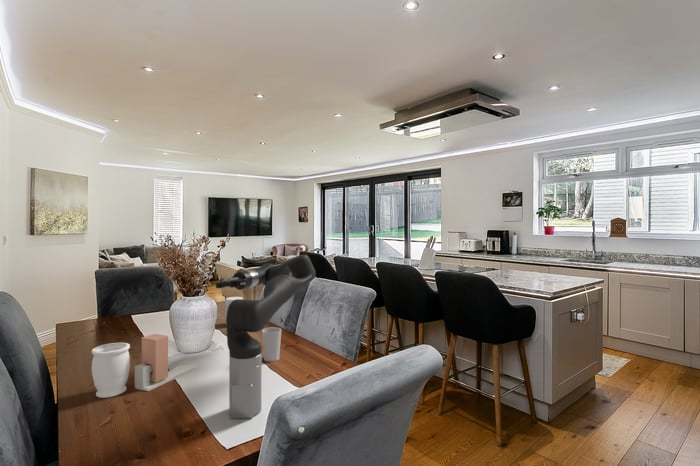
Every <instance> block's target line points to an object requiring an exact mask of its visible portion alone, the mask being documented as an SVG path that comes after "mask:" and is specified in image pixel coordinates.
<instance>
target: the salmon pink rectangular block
mask: <svg viewBox="0 0 700 466" xmlns="http://www.w3.org/2000/svg"><path fill="white" fill-rule="evenodd" d="M168 358H169V336H168V335H162V334H157V333H153V334H149V335H146V336H145V335H144V336H142V337H141V364H144V365H153V371H152V372H150V381H152V382H158V381H160V380H162V379H164V378H167V377H168V371H169V365H168Z"/></svg>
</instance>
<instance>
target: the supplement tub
mask: <svg viewBox="0 0 700 466" xmlns="http://www.w3.org/2000/svg"><path fill="white" fill-rule="evenodd" d="M236 299H243V300H244V297H242V296H230V297H226V298H225V300H224V307H225V309H224V311H225V312H224V314H225V315H224V316H225V318H224V320H225V321H224V323H225V325H226V315H227V310H228V307H229V305H230V303H231V302H232V301H234V300H236Z"/></svg>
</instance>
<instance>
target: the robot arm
mask: <svg viewBox="0 0 700 466" xmlns="http://www.w3.org/2000/svg"><path fill="white" fill-rule="evenodd" d="M316 274H317V273H316V269H315V267H314V265H313V262H312V260H311V259H310V257H309V255H308V254H305V253H304V254H299V255H297V256H295V257H293V258H290V259H288V260H285V261H284V262H282V263H280V264H276V265H274V264H273V263H264V264H262V265H261V266H259V267H258V268H256V269H250V270H249V269H247V270H242V271H237V272H235V273H234V274H233V275H232V276H229V277H227V278H223V277H221V278H219V281H218V282H217V281H216V282H215V289H223V288H226V289H227V288H235V289H236V290H239V291H241V290H246V289H249V288H250V289H251V288H253V287H256V286H260V285H263V286H264V289H263V298H262V299H258V300H257V299H256V300H255V299H254V300H253V299H244V298H243V299H236V300H234V301H232V302H231V303H230V305H229V307H228V310H227V315H226V324H225V325H226V340H227V341H226V343H227V348H228V351H229V353H228V354H229V355H228V356H229V358H228V359H229V365H228V366H229V368H228V369H229V370H228V371H229V379H228V380H229V384H228V385H229V386H228V389H229V393H228V395H229V396H228V399H229V400H228V403H229V405H228V406H229V407H228V408H229V411H228V413H229V415H230V419H253V418H254V417H255V416H257V415H258V414H260V413H261V411H262V362H263V361H262V358H263V357H262V354H263V353H262V349H263V348H262V346H263V345H262V343H261V342H260V341H259V340H257V339H255V338H254V337H253V336H251V334H249V333H257V332H260V331H262V330H263V329H265V327H266V326H267V324H268V323H269V322H270V320H271V319H272V318H273V317H274V316H275V314H276V313H277V312H278V311H279V310H280V308H281V307H283V306H284V304H286V303H287V302H288V301H289V300H290V299H292V298H293V296H294V295H295V294H296V293H297V292H298V291H299V290H300V289H302V288H303V286H305V285H307V284H309V282H311V281H312V280H313V279H314V278H315V277H316Z"/></svg>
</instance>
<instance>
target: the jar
mask: <svg viewBox="0 0 700 466" xmlns="http://www.w3.org/2000/svg"><path fill="white" fill-rule="evenodd" d="M130 348H131V344H130V343H128V342H114V343H106V344H102V345H99V346H96V347H94V348H93V349H92V350H91V354H92V355H93V357H92V361H91V375H92V379H93V384H94V387H95V389H96V390H97V391H96V393H95V396H96V397H97V398H100V399H101V398H102V399H104V398H113V397H116V396H119V395H121V394H123V393H124V392H126V391H127V386H126V384H127V382H128V379H129V372H130V369H131V356H130V352H129V350H130Z"/></svg>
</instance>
